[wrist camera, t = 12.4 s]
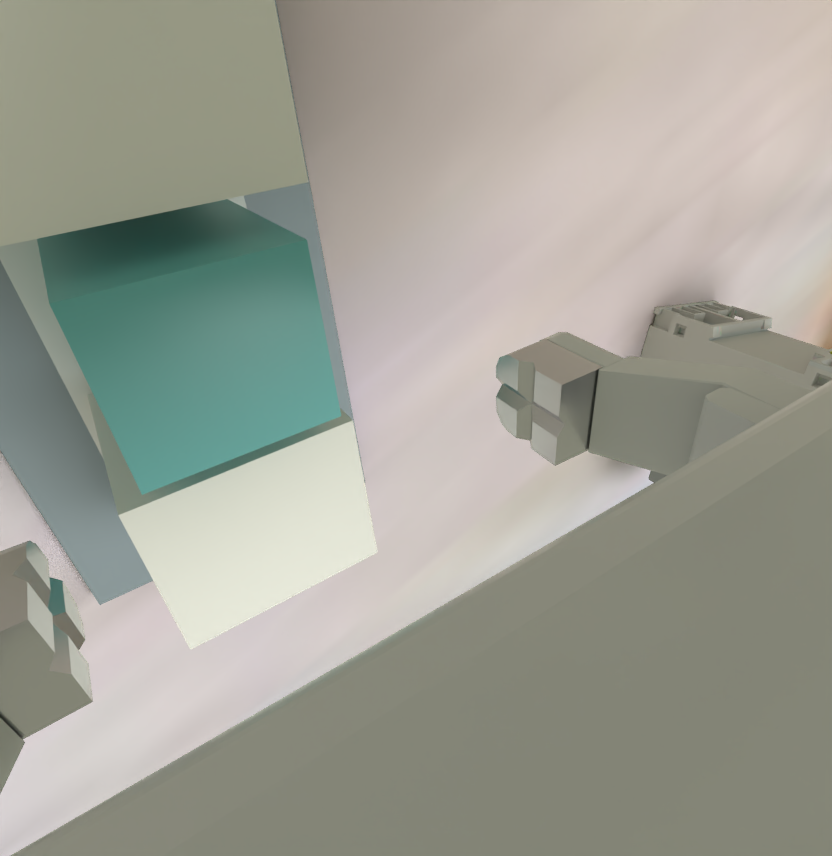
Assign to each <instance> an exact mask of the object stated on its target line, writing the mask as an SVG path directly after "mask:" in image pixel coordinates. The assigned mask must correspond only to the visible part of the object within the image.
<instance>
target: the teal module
mask: <svg viewBox="0 0 832 856" xmlns="http://www.w3.org/2000/svg"><path fill="white" fill-rule="evenodd" d="M37 242H38V247H39V253H40V258H41V263H42V268H43V274H44V279H45V284H46V289H47V295H48V300H49V304H50V306H51V308H52V310H53V312H54V315H55V317H56V319H57V321H58V323H59V325H60V327H61V329H62V331H63V333H64V335H65V337H66V339H67V341H68V343H69V345H70V347H71V350H72V352H73V354H74V356H75V358H76V360H77V362H78V364H79V366H80V368H81V370H82V372H83V374H84V376H85V378H86V380H87V382H88V385H89V387H90V389H91V391H92V393H93V395H94V397H95V399H96V401H97V403H98V405H99V407H100V409H101V411H102V413H103V415H104V417H105V420H106V422H107V424H108V426H109V428H110V430H111V432H112V434H113V436H114V438H115V440H116V442H117V444H118V446H119V448H120V450H121V452H122V455H123V457H124V459H125V461H126V463H127V465H128V467H129V469H130V471H131V473H132V475H133V477H134V479H135V481H136V483H137V485H138V487H139V490H140V492H141V494H142V495H143V494H146V493H148V492H151V491H153V490H156V489H158V488H161V487H163V486H166V485H168V484H171V483H173V482H176V481H179V480H181V479H184V478H186V477H189V476H191V475H194V474H196V473H199V472H201V471H204V470H206V469H209V468H211V467H214V466H216V465H219V464H222V463H224V462H227V461H229V460H232V459H234V458H237V457H239V456H242V455H244V454H247V453H249V452H252V451H254V450H257V449H260V448H262V447H265V446H267V445H270V444H272V443H275V442H277V441H280V440H282V439H285V438H287V437H290V436H292V435H295V434H297V433H300V432H303V431H305V430H308V429H310V428H313V427H315V426H318V425H320V424H323V423H325V422H328V421H330V420H333V419H335V418H338V417H340V416H341V411H340V406H339V401H338V396H337V391H336V386H335V381H334V376H333V371H332V365H331V360H330V355H329V350H328V345H327V340H326V335H325V330H324V325H323V319H322V314H321V309H320V304H319V299H318V294H317V289H316V284H315V279H314V274H313V268H312V263H311V258H310V253H309V248H308V243H307V239H305V238H303V237H301V236H299V235H297V234H295V233H293V232H291V231H289V230H287V229H285V228H283V227H281V226H279V225H277V224H275V223H273V222H271V221H269V220H267V219H265V218H263V217H262V216H260V215H258V214H256V213H254V212H252V211H250V210H248V209H246V208H244V207H242V206H240V205H238V204H236V203H234V202H232V201H230V200H228V199H225V200H221V201H216V202H211V203H206V204H201V205H197V206H192V207H187V208H182V209H177V210H173V211H168V212H163V213H158V214H153V215H149V216H144V217H139V218H134V219H129V220H125V221H120V222H115V223H110V224H105V225H101V226H96V227H91V228H86V229H81V230H77V231H72V232H67V233H62V234H57V235H53V236H48V237H43V238H38V239H37Z"/></svg>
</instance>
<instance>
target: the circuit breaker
mask: <svg viewBox="0 0 832 856" xmlns="http://www.w3.org/2000/svg"><path fill="white" fill-rule="evenodd" d="M654 314H656V317H655V320H654V324H653V325H650V327H649V330H648V333H647V337H646V340H645V343H644V346H643V350H642V353H641V356H640V357H642V358H652V359H663V360H673V361H683V362H694V363H704V364H715V365H725V366H736V367H746V368H756V369H758V370H761V371H763V372H766V373H768V374H770V375H773V376H775V377H778V378H780V379H783V380H785V381H788V382H790V383H793V384H795V385H798V386H800V387H803V388H805V389H808V390H810V391H814V390H815V389H817V388H819V387H820V386H822V385H824V384H826V383H827V382H829V381H831V380H832V349H829V350H828V349H824V348H821V347H818V346H815V345H812V344H809V343H806V342H803V341H799V340H796V339H793V338H790V337H787V336H784V335H781V334H778V333H774V332H771V331H768V330H767V329H768V328H771V325H772V318H770V317H767V316H763V315H760V314H757V313H753V312H750V311H747V310H743V309H740V308H737V307H733V306H731V307H730V306H726V305H723V304H720V303H719V302H717V301H708V302H699V303H690V304H681V305H672V306H664V307H655V310H654ZM735 315H736V316H739V317H742V318H743V320H742V321H740V320H737V319H734V317H735ZM665 476H667V475H665V474H661V473H658V472H655V471H651V472H650V475H649V480H651V481H652V482H654V483H655V482H657V481H658V480H660V479H662V478H663V477H665Z"/></svg>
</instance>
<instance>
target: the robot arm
mask: <svg viewBox="0 0 832 856" xmlns="http://www.w3.org/2000/svg"><path fill="white" fill-rule="evenodd" d="M496 378H497V379H498V380H499V381H500V382H501V383H502V386H501V388H500V390H499V392H498V394H497V396H496V406H497V413H498V416H499V418H500V421H501V423H502V425H503V426H504V427H505V428H506V430H507V431H508V432H509V433H511V434H512V435H513V436H515V437H516V438H520V439H525V440H530V444H531V449H532V450H534V451H535V452H537V453H538V454H539V455H541V456H542V457H543V458H545V459H546V460H548V461H549V462H550V463H552V464H553V465H555V466H556V465H558V464H560V463H562V462H564V461H566V460H568V459H570V458H572V457H575V456H577V455H579V454H581V453H583V452H585V451H587V450H589V451H588V452H590V453H593V454H597V455H600V456H604V457H607V458H610V459H614V460H617V461H621V462H624V463H627V464H631V465H634V466H638V467H641V468H644V469H648V470H651V471H655V472H658V473H661V474H665V475H667V476H665V477H663V478H662V479H660V480H658V481H657V482H655V483H653V484H651V485H650V486H648V487H646V488H644V489H643V490H641V491H639V492H638V493H636V494H634V495H632V496H631V497H629V498H627V499H625V500H624V501H622V502H620V503H619V504H617V505H615V506H613V507H612V508H610V509H608V510H606V511H605V512H603V513H601V514H599V515H598V516H596V517H594V518H593V519H591V520H589V521H587V522H586V523H584V524H582V525H580V526H579V527H577V528H575V529H574V530H572V531H570V532H568V533H567V534H565V535H563V536H561V537H560V538H558V539H556V540H554V541H553V542H551V543H549V544H548V545H546V546H544V547H542V548H541V549H539V550H537V551H535V552H534V553H532V554H530V555H529V556H527V557H525V558H523V559H522V560H520V561H518V562H516V563H515V564H513V565H511V566H510V567H508V568H506V569H504V570H503V571H501V572H499V573H497V574H496V575H494V576H492V577H491V578H489V579H487V580H485V581H484V582H482V583H480V584H479V585H477V586H475V587H473V588H472V589H470V590H468V591H466V592H465V593H463V594H461V595H460V596H458V597H456V598H454V599H453V600H451V601H449V602H447V603H446V604H444V605H442V606H441V607H439V608H437V609H435V610H434V611H432V612H430V613H428V614H427V615H425V616H423V617H422V618H420V619H418V620H416V621H415V622H413V623H411V624H409V625H408V626H406V627H404V628H403V629H401V630H399V631H397V632H396V633H394V634H392V635H390V636H389V637H387V638H385V639H384V640H382V641H380V642H378V643H377V644H375V645H373V646H372V647H370V648H368V649H366V650H365V651H363V652H361V653H359V654H358V655H356V656H354V657H353V658H351V659H349V660H347V661H346V662H344V663H342V664H340V665H339V666H337V667H335V668H334V669H332V670H330V671H328V672H327V673H325V674H323V675H321V676H320V677H318V678H316V679H315V680H313V681H311V682H309V683H308V684H306V685H304V686H302V687H301V688H299V689H297V690H296V691H294V692H292V693H290V694H289V695H287V696H285V697H283V698H282V699H280V700H278V701H277V702H275V703H273V704H271V705H270V706H268V707H266V708H264V709H263V710H261V711H259V712H258V713H256V714H254V715H252V716H251V717H249V718H247V719H245V720H244V721H242V722H240V723H239V724H237V725H235V726H233V727H232V728H230V729H228V730H226V731H225V732H223V733H221V734H220V735H218V736H216V737H214V738H213V739H211V740H209V741H208V742H206V743H204V744H202V745H201V746H199V747H197V748H195V749H194V750H192V751H190V752H189V753H187V754H185V755H183V756H182V757H180V758H178V759H176V760H175V761H173V762H171V763H170V764H168V765H166V766H164V767H163V768H161V769H159V770H157V771H156V772H154V773H152V774H151V775H149V776H147V777H145V778H144V779H142V780H140V781H138V782H137V783H135V784H133V785H132V786H130V787H128V788H126V789H125V790H123V791H121V792H119V793H118V794H116V795H114V796H113V797H111V798H109V799H107V800H106V801H104V802H102V803H100V804H99V805H97V806H95V807H94V808H92V809H90V810H88V811H87V812H85V813H83V814H81V815H80V816H78V817H76V818H75V819H73V820H71V821H69V822H68V823H66V824H64V825H62V826H61V827H59V828H57V829H56V830H54V831H52V832H50V833H49V834H47V835H45V836H44V837H42V838H40V839H38V840H37V841H35V842H33V843H31V844H30V845H28V846H26V847H25V848H23V849H21V850H19V851H18V852H16V853H14V854H12V855H11V856H832V380H831V381H829V382H827V383H826V384H824V385H822V386H820V387H819V388H817V389H815V390H814V391H810V390H808V389H805V388H803V387H800V386H798V385H795V384H793V383H790V382H788V381H785V380H783V379H780V378H778V377H775V376H773V375H770V374H768V373H766V372H763V371H761V370H758V369H756V368H746V367H736V366H725V365H715V364H704V363H694V362H683V361H673V360H663V359H652V358H642V357H631V356H629V357H627V358H624V359H623V358H621V357H619V356H617V355H615V354H613V353H611V352H608V351H606V350H604V349H602V348H600V347H598V346H596V345H593V344H591V343H589V342H587V341H585V340H583V339H580V338H578V337H576V336H574V335H572V334H570V333H568V332H558V333H556V334H554V335H551V336H549V337H547V338H544V339H542V340H540V341H539V342H536V343H534V344H532V345H529V346H527V347H524V348H522V349H519V350H517V351H514V352H512V353H510V354H507V355H505V356H502V357H500V358H499V361H498V363H497V366H496ZM84 641H85V635H84V629H83V623H82V620H81V617H80V614H79V611H78V608H77V605H76V603H75V601H74V599H73V597H72V596H71V594H70V592H69V590H68V589H67V587H66V586H65V584H64V583H63V581H61V580H57V579H54V578H50V577H49V566H48V559H47V558H46V557H45V555H44V554H43V553H42V551H41V550H40V549H39V547H38V546H37V545H36V544H35V543H33V542H31V541H27V542H24V543H22V544H19V545H16V546H13V547H11V548H8V549H5V550H3V551H0V793H1V791H2V789H3V787H4V785H5V783H6V781H7V779H8V777H9V775H10V772H11V770H12V768H13V766H14V764H15V762H16V760H17V758H18V756H19V754H20V752H21V749H22V747H23V745H24V743H25V742H24V741H23V739H24V738H26V737H28V736H30V735H32V734H34V733H36V732H37V731H39V730H41V729H43V728H45V727H47V726H49V725H50V724H52V723H54V722H56V721H58V720H60V719H62V718H63V717H65V716H67V715H69V714H71V713H73V712H75V711H76V710H78V709H80V708H82V707H84V706H86V705H88V704H89V703H91V702H93V699H92V691H91V682H90V674H89V666H88V663H87V661H86V660H85V658H84V657H83V656H82V654H81V653H80V651H79V649H80V647H81V646H82V644H83V642H84Z"/></svg>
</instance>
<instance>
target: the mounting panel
mask: <svg viewBox="0 0 832 856" xmlns="http://www.w3.org/2000/svg"><path fill="white" fill-rule="evenodd" d="M225 199H228V200H230V201H232V202H234V203H236V204H238V205H240V206H242V207H244V208H246V209H248V210H250V211H252V212H254V213H256V214H258V215H260V216H262V217H263V218H265V219H267V220H269V221H271V222H273V223H275V224H277V225H279V226H281V227H283V228H285V229H287V230H289V231H291V232H293V233H295V234H297V235H299V236H301V237H303V238H305V239H307V243H308V248H309V253H310V258H311V263H312V268H313V274H314V279H315V284H316V289H317V294H318V299H319V304H320V309H321V314H322V319H323V325H324V330H325V335H326V340H327V345H328V350H329V355H330V360H331V365H332V371H333V376H334V381H335V386H336V391H337V396H338V401H339V406H340V411H341V416H340V417H338V418H335V419H333V420H330V421H328V422H325V423H323V424H320V425H318V426H315V427H313V428H310V429H308V430H305V431H303V432H300V433H297V434H295V435H292V436H290V437H287V438H285V439H282V440H280V441H277V442H275V443H272V444H270V445H267V446H265V447H262V448H260V449H257V450H254V451H252V452H249V453H247V454H244V455H242V456H239V457H237V458H234V459H232V460H229V461H227V462H224V463H222V464H219V465H216V466H214V467H211V468H209V469H206V470H204V471H201V472H199V473H196V474H194V475H191V476H189V477H186V478H184V479H181V480H179V481H176V482H173V483H171V484H168V485H166V486H163V487H161V488H158V489H156V490H153V491H151V492H148V493H146V494H143V495H142V494H141V492H140V490H139V487H138V485H137V483H136V481H135V479H134V477H133V475H132V473H131V471H130V469H129V467H128V465H127V463H126V461H125V459H124V457H123V455H122V452H121V450H120V448H119V446H118V444H117V442H116V440H115V438H114V436H113V434H112V432H111V430H110V428H109V426H108V424H107V422H106V420H105V417H104V415H103V413H102V411H101V409H100V407H99V405H98V403H97V401H96V399H95V397H94V395H93V393H92V391H91V389H90V387H89V385H88V382H87V380H86V378H85V376H84V374H83V372H82V370H81V368H80V366H79V364H78V362H77V360H76V358H75V356H74V354H73V352H72V350H71V347H70V345H69V343H68V341H67V339H66V337H65V335H64V333H63V331H62V329H61V327H60V325H59V323H58V321H57V319H56V317H55V315H54V312H53V310H52V308H51V306H50V304H49V300H48V295H47V289H46V284H45V279H44V274H43V268H42V263H41V258H40V253H39V247H38V242H37V239H38V238H43V237H48V236H53V235H57V234H62V233H67V232H72V231H77V230H81V229H86V228H91V227H96V226H101V225H105V224H110V223H115V222H120V221H125V220H129V219H134V218H139V217H144V216H149V215H153V214H158V213H163V212H168V211H173V210H177V209H182V208H187V207H192V206H197V205H201V204H206V203H211V202H216V201H221V200H225ZM0 451H1V452H2V454H3V455H4V457H5V458H6V460H7V462H8V463H9V465H10V466H11V468H12V469H13V471H14V472H15V474H16V476H17V477H18V479H19V480H20V482H21V483H22V485H23V486H24V488H25V490H26V491H27V493H28V494H29V496H30V497H31V499H32V500H33V502H34V503H35V505H36V507H37V508H38V510H39V511H40V513H41V514H42V516H43V517H44V519H45V521H46V522H47V524H48V525H49V527H50V528H51V530H52V531H53V533H54V535H55V536H56V538H57V539H58V541H59V542H60V544H61V545H62V547H63V548H64V550H65V552H66V553H67V555H68V556H69V558H70V559H71V561H72V562H73V564H74V566H75V567H76V569H77V570H78V572H79V573H80V575H81V576H82V578H83V579H84V581H85V583H86V584H87V586H88V587H89V589H90V590H91V592H92V593H93V595H94V597H95V598H96V600H97V601H98V603H99V604H100V605H101V604H103V603H105V602H107V601H110V600H112V599H114V598H116V597H118V596H121V595H123V594H125V593H127V592H129V591H131V590H134V589H136V588H138V587H140V586H142V585H144V584H147V583H149V582H151V581H154V583H155V585H156V586H157V588H158V590H159V592H160V594H161V596H162V598H163V599H164V601H165V603H166V605H167V607H168V609H169V611H170V612H171V614H172V616H173V618H174V620H175V622H176V624H177V625H178V627H179V629H180V631H181V633H182V635H183V637H184V638H185V640H186V642H187V644H188V646H189V648H190V650H191V649H193V648H195V647H197V646H199V645H201V644H203V643H205V642H206V641H208V640H210V639H212V638H214V637H216V636H218V635H220V634H222V633H224V632H226V631H228V630H229V629H231V628H233V627H235V626H237V625H239V624H241V623H243V622H245V621H247V620H249V619H251V618H253V617H254V616H256V615H258V614H260V613H262V612H264V611H266V610H268V609H270V608H272V607H274V606H276V605H277V604H279V603H281V602H283V601H285V600H287V599H289V598H291V597H293V596H295V595H297V594H299V593H300V592H302V591H304V590H306V589H308V588H310V587H312V586H314V585H316V584H318V583H320V582H322V581H324V580H325V579H327V578H329V577H331V576H333V575H335V574H337V573H339V572H341V571H343V570H345V569H347V568H348V567H350V566H352V565H354V564H356V563H358V562H360V561H362V560H364V559H366V558H368V557H370V556H372V555H373V554H375V553H377V547H376V541H375V536H374V531H373V525H372V520H371V515H370V509H369V504H368V499H367V493H366V488H365V479H364V473H363V468H362V463H361V457H360V452H359V446H358V441H357V436H356V430H355V425H354V420H353V414H352V409H351V403H350V398H349V393H348V387H347V382H346V376H345V371H344V366H343V360H342V355H341V350H340V344H339V339H338V333H337V328H336V323H335V317H334V312H333V306H332V301H331V296H330V290H329V285H328V280H327V274H326V269H325V263H324V258H323V253H322V247H321V242H320V236H319V231H318V226H317V220H316V215H315V210H314V204H313V199H312V193H311V188H310V183H309V177H308V172H307V166H306V161H305V156H304V150H303V145H302V140H301V134H300V129H299V123H298V118H297V113H296V107H295V102H294V96H293V91H292V86H291V80H290V75H289V70H288V64H287V59H286V53H285V48H284V43H283V37H282V32H281V26H280V21H279V16H278V10H277V5H276V0H0Z"/></svg>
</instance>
